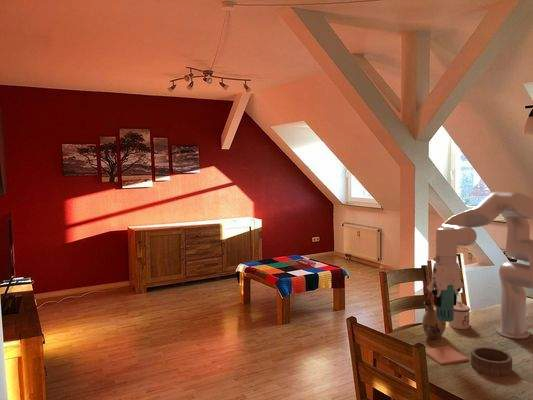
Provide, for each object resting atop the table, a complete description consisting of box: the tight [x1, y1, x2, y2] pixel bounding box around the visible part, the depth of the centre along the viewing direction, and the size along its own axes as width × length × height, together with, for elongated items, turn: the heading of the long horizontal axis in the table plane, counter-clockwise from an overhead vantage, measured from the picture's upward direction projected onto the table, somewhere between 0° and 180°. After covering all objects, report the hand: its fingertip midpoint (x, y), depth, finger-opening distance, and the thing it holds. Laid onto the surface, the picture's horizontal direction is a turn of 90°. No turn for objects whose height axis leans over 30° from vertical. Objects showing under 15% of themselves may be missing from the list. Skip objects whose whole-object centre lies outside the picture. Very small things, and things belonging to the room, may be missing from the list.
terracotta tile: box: [425, 345, 469, 366], centre depth 169 cm, size 12×12×1 cm
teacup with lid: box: [448, 300, 471, 330], centre depth 200 cm, size 12×9×12 cm
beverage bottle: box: [436, 284, 454, 323], centre depth 167 cm, size 6×7×20 cm
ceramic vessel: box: [421, 287, 447, 340], centre depth 186 cm, size 16×9×25 cm, turn 138°
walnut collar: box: [470, 346, 513, 378], centre depth 158 cm, size 13×13×5 cm
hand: (445, 304), depth 167 cm, fingers closed on beverage bottle, 6 cm apart
